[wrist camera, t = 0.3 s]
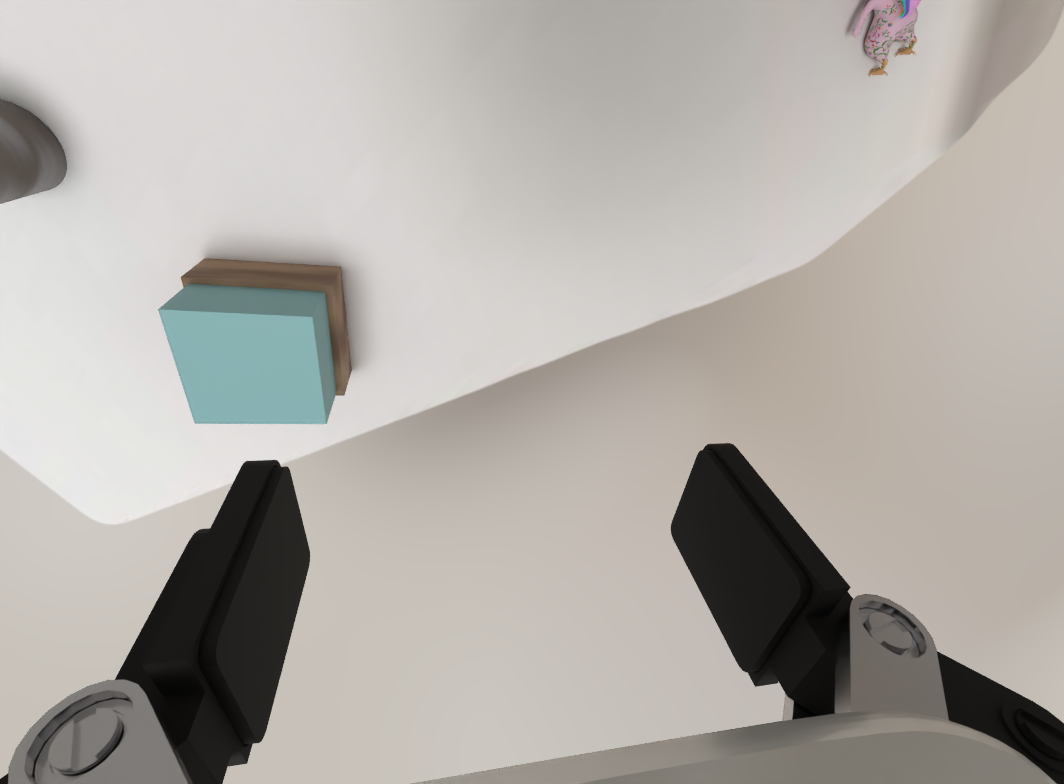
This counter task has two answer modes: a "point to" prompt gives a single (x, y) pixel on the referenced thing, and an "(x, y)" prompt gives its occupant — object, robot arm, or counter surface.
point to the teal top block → (252, 354)
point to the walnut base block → (290, 279)
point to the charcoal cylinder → (27, 154)
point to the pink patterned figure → (888, 28)
